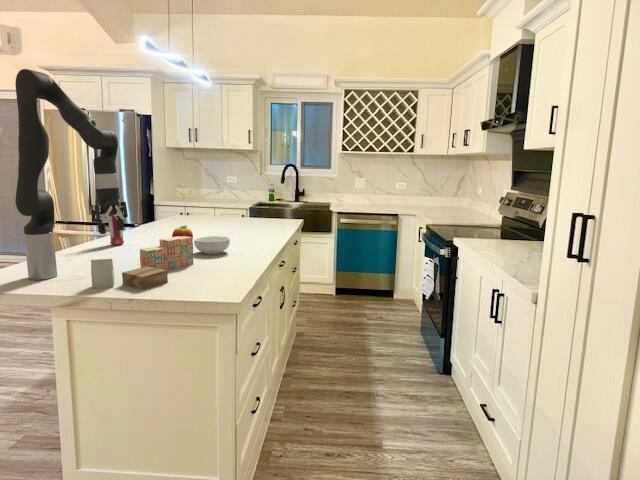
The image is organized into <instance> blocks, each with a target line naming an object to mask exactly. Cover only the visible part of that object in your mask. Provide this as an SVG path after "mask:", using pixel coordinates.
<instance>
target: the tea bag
mask: <svg viewBox="0 0 640 480" xmlns="http://www.w3.org/2000/svg"><path fill="white" fill-rule="evenodd" d="M90 275H91V287H92V289H101V288H103V289H105V288H114V286H115V272H114V261H113V259H112V258H98V259H91V260H90Z"/></svg>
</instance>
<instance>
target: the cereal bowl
mask: <svg viewBox="0 0 640 480" xmlns="http://www.w3.org/2000/svg"><path fill="white" fill-rule="evenodd" d="M230 240H231V239H230V238H229V237H227V236H216V235H215V236H202V237H198V238H194V239H193V244H194V246H195V248H196V249H197V250H198V251H200V252H202V253H203V254H205V255H217V254H221V252H224V251H225V250H227V249H228V248H229V246H230V242H231V241H230Z"/></svg>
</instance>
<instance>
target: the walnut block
mask: <svg viewBox="0 0 640 480" xmlns="http://www.w3.org/2000/svg"><path fill="white" fill-rule="evenodd" d="M121 277H122V286H125V287H130V288H134V289H138V290H142V291H143V290H148V289H151V288H154V287H158V286H161V285H164V284H168V283H169V282H168V281H169V280H168V269H167V270H163V269H158V268H152V267H143V268H141V267H139V268H135V269H132V270H126V271H123V272H121Z"/></svg>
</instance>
